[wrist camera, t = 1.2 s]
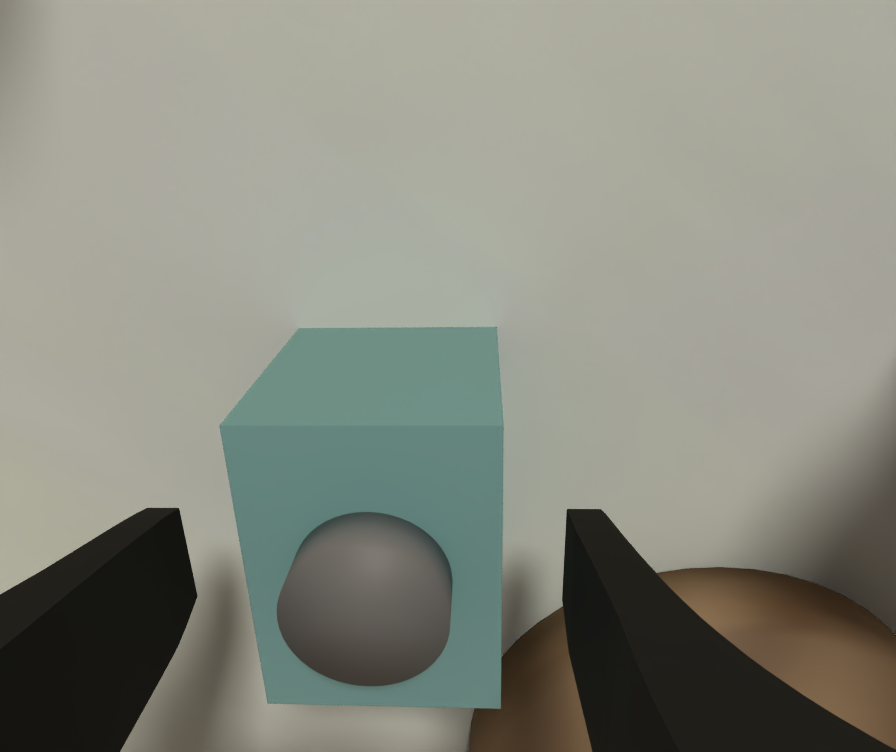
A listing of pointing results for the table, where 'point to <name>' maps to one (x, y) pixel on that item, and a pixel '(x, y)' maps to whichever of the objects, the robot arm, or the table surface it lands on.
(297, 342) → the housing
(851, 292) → the table surface
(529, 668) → the stand
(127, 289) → the table surface
